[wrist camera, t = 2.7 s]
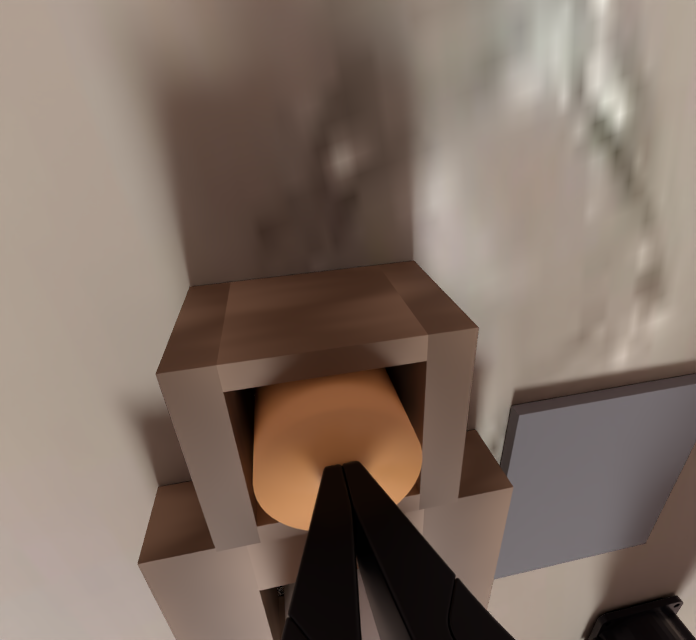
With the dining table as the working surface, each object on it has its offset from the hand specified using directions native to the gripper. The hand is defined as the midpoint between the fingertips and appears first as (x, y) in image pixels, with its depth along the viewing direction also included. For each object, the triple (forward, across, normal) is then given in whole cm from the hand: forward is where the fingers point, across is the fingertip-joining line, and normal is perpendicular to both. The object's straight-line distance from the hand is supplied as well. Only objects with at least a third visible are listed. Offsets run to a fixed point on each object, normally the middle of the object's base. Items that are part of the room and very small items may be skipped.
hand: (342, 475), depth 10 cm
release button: (+4, 0, 0) cm, 4 cm away
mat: (+5, -13, +10) cm, 17 cm away
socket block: (+5, 0, +7) cm, 9 cm away
